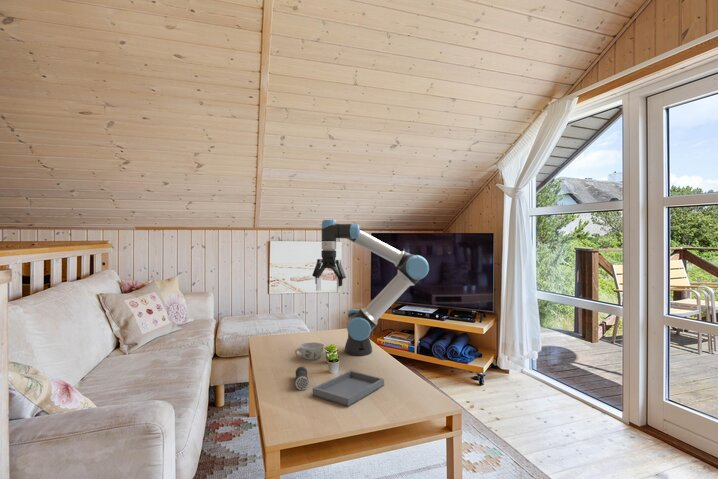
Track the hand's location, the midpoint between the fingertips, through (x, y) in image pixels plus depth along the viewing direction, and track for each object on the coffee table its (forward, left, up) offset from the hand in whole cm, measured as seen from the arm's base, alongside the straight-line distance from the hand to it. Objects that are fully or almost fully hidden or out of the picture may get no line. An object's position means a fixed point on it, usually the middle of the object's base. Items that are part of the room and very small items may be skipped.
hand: (328, 291), depth 194 cm
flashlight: (+22, +6, -30) cm, 38 cm away
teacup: (+2, -11, -37) cm, 39 cm away
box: (+22, +30, -37) cm, 52 cm away
